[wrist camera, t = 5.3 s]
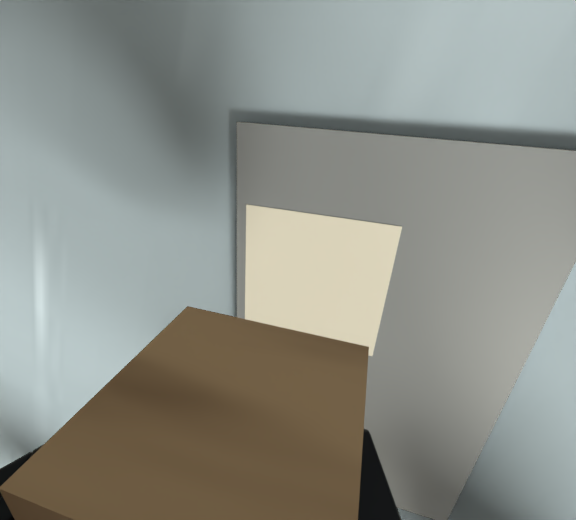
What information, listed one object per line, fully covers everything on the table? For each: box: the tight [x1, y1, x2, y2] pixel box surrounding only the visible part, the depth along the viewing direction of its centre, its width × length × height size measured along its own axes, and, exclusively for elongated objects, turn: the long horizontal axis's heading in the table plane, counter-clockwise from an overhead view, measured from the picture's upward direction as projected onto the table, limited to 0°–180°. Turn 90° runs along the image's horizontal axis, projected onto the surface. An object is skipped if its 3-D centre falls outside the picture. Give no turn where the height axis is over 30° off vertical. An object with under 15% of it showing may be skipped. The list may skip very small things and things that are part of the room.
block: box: [0, 306, 369, 520], centre depth 7 cm, size 5×5×5 cm
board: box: [237, 122, 576, 520], centre depth 17 cm, size 14×22×1 cm, turn 176°
